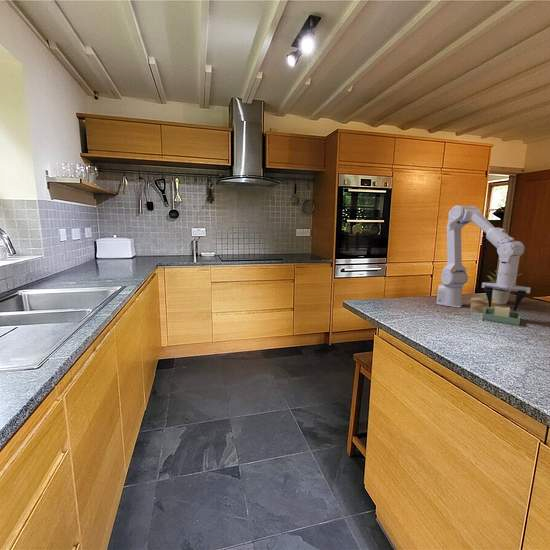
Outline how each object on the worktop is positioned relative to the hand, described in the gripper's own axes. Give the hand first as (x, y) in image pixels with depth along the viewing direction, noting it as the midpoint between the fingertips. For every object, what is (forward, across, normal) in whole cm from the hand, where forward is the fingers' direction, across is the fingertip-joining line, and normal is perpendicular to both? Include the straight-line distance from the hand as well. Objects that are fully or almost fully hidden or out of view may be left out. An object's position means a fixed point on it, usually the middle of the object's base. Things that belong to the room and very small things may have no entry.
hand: (502, 308), depth 114 cm
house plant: (+5, 0, +33) cm, 33 cm away
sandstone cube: (+4, 0, 0) cm, 4 cm away
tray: (+4, 0, 0) cm, 4 cm away
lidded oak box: (+4, -6, +9) cm, 12 cm away
